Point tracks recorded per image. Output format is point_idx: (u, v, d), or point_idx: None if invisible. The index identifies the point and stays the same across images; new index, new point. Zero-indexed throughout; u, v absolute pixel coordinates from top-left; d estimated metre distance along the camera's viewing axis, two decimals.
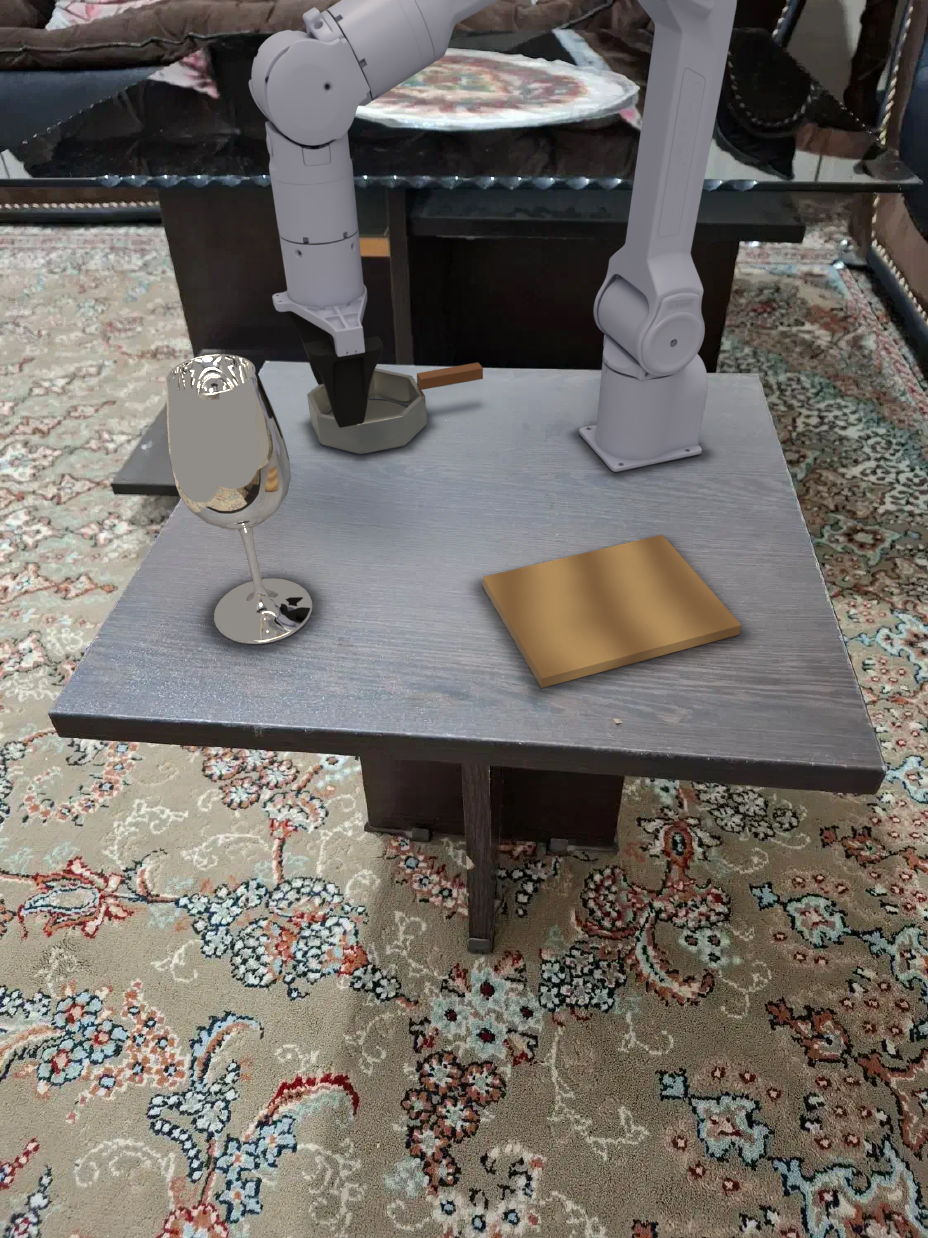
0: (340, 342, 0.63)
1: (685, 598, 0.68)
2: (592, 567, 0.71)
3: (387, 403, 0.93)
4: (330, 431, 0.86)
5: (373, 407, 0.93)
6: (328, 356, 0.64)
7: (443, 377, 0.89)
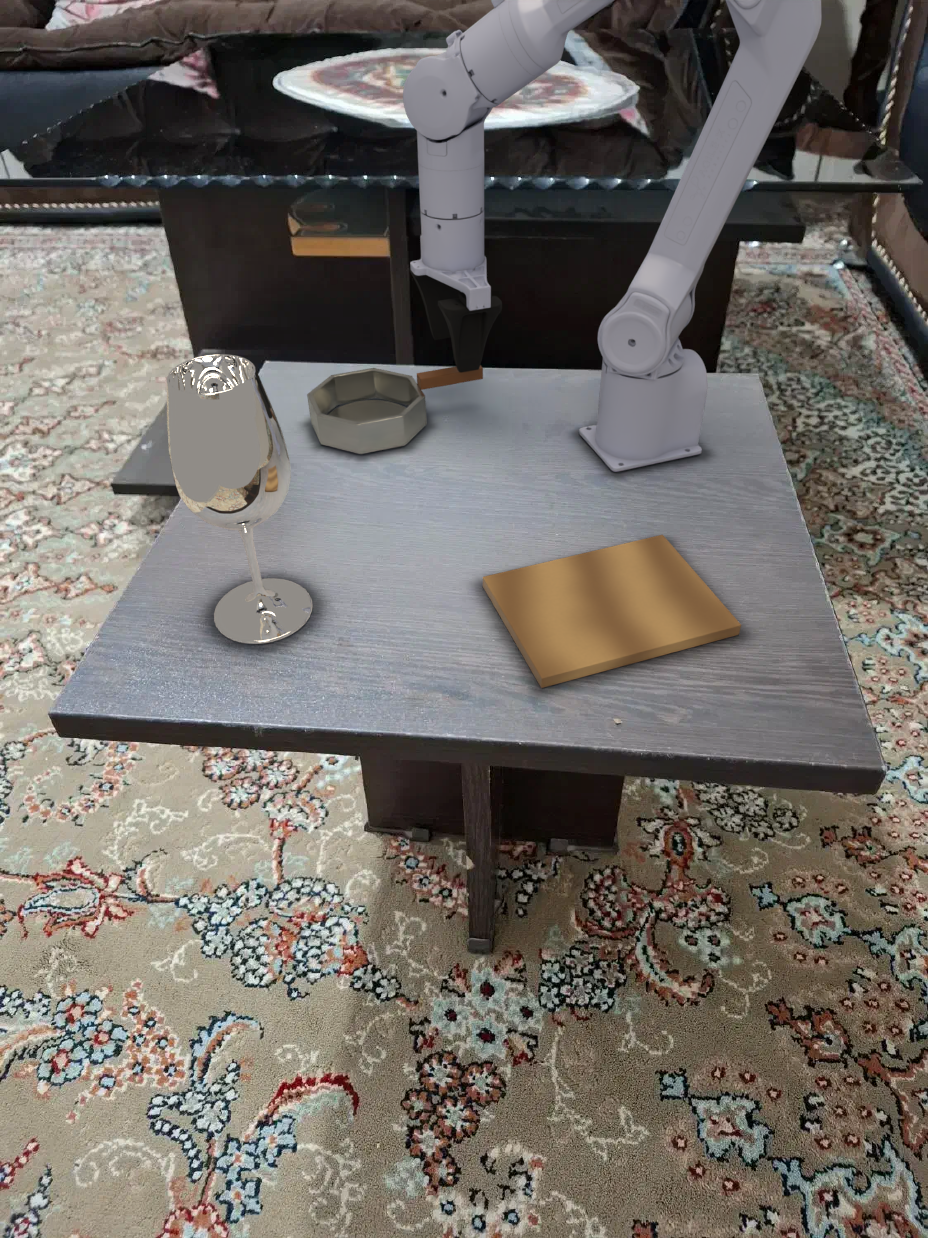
0: (472, 298, 0.78)
1: (685, 598, 0.68)
2: (592, 567, 0.71)
3: (387, 403, 0.93)
4: (330, 431, 0.86)
5: (373, 407, 0.93)
6: (460, 310, 0.80)
7: (443, 377, 0.89)
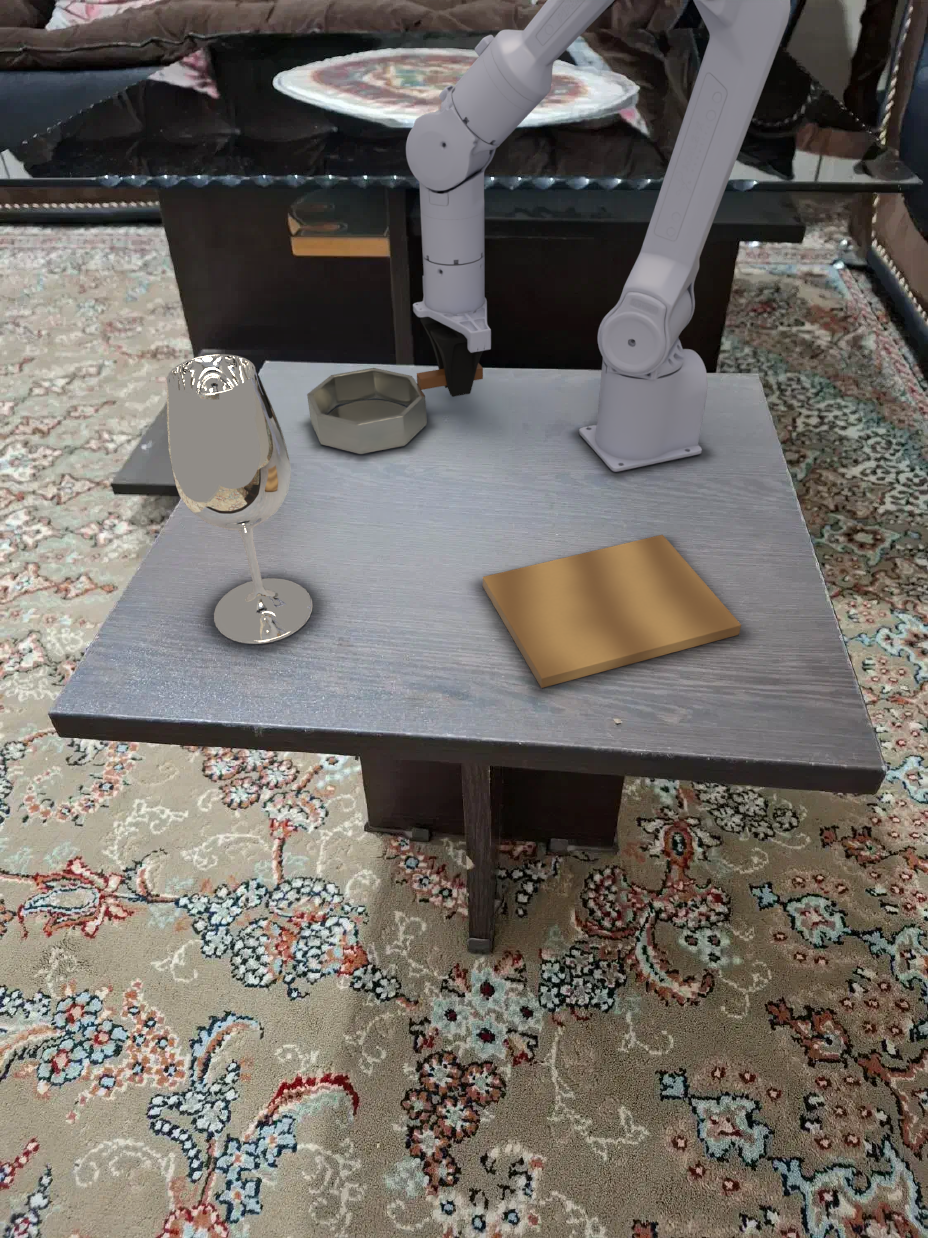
0: (473, 341, 0.81)
1: (685, 598, 0.68)
2: (592, 567, 0.71)
3: (387, 403, 0.93)
4: (330, 431, 0.86)
5: (373, 407, 0.93)
6: (451, 339, 0.84)
7: (443, 377, 0.89)
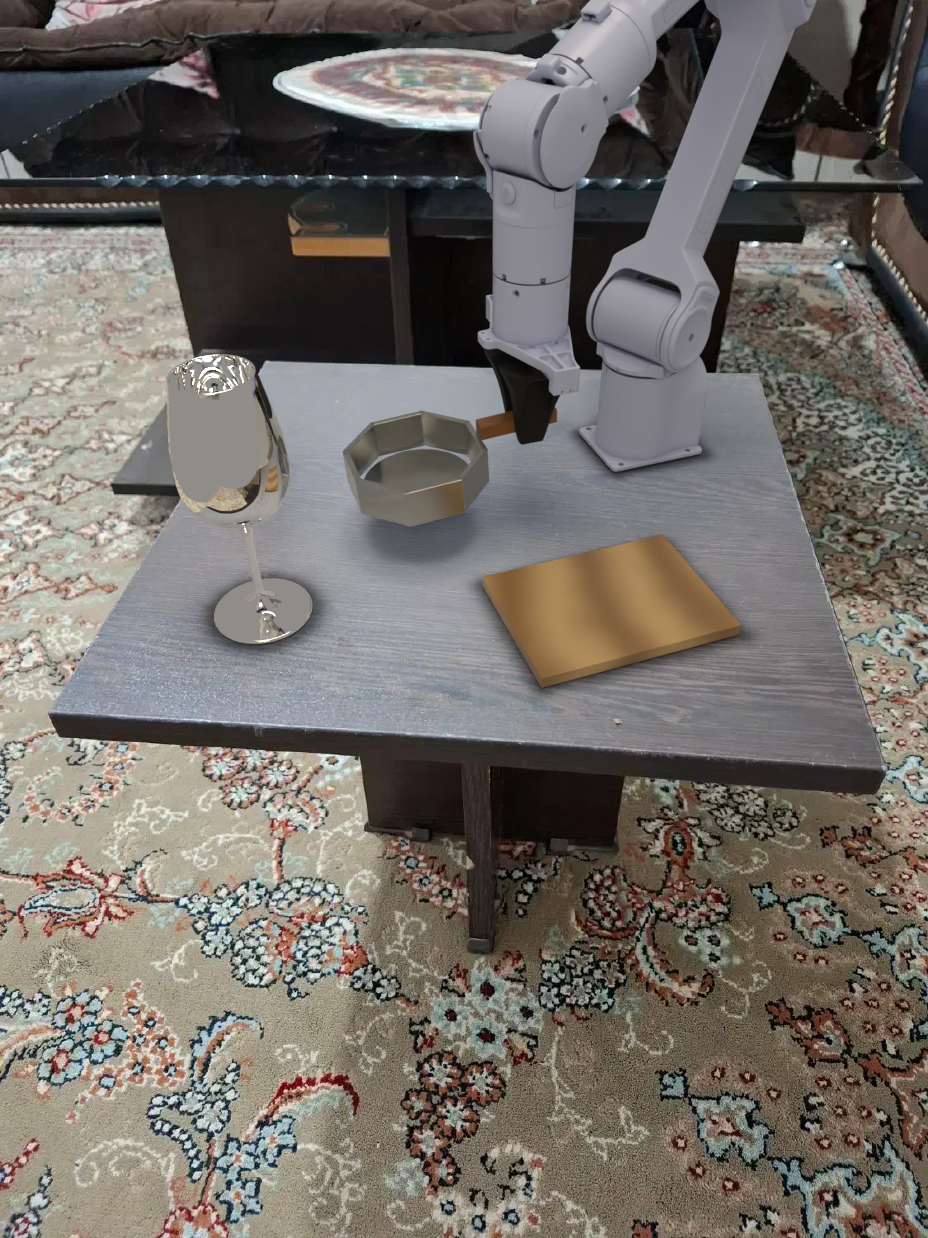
0: (557, 382, 0.64)
1: (685, 598, 0.68)
2: (592, 567, 0.71)
3: (439, 453, 0.77)
4: (373, 500, 0.70)
5: (423, 459, 0.76)
6: (526, 377, 0.67)
7: (508, 424, 0.72)
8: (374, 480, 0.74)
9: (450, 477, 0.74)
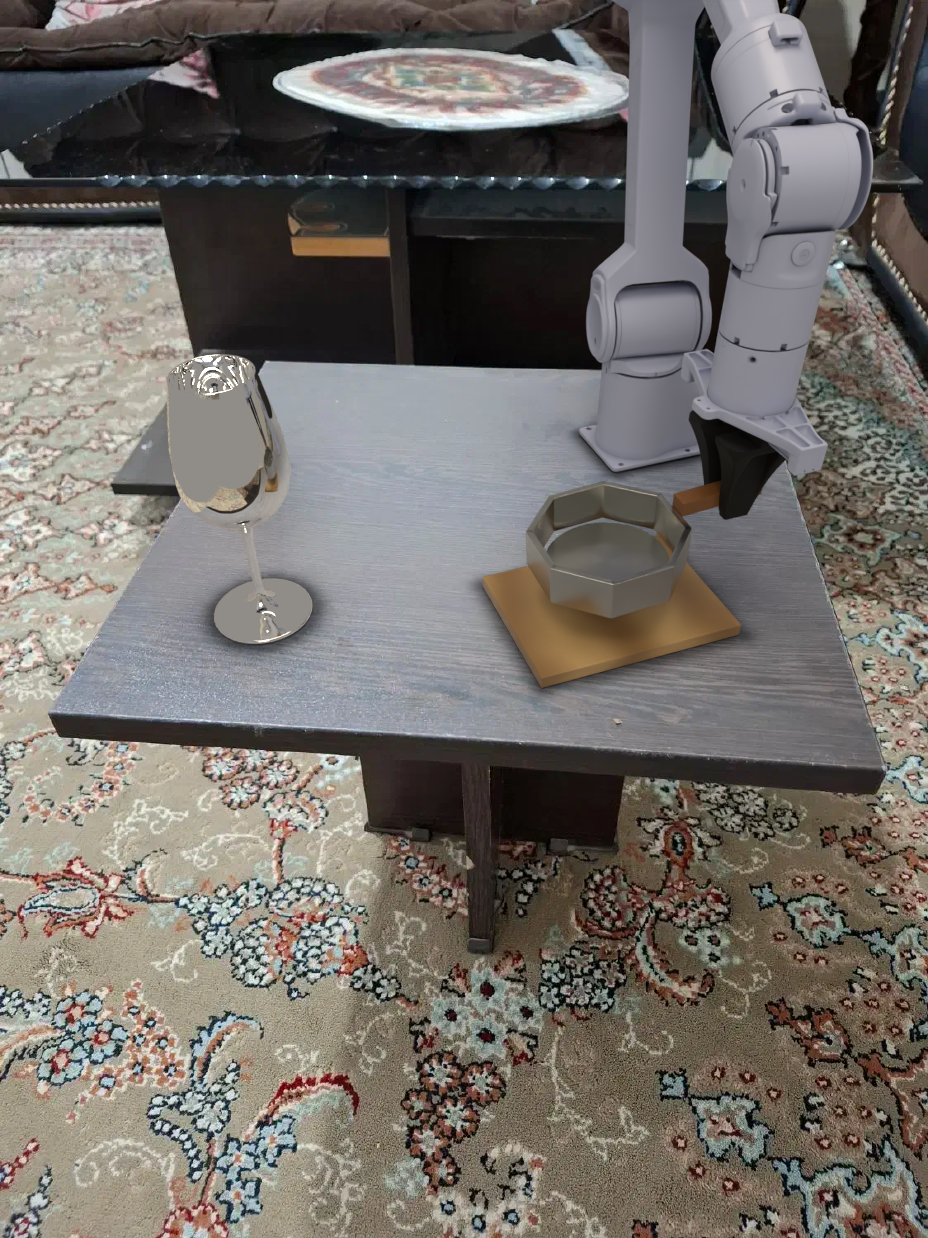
0: (802, 461, 0.56)
1: (685, 598, 0.68)
2: None
3: (622, 527, 0.69)
4: (569, 589, 0.62)
5: (606, 535, 0.68)
6: (752, 451, 0.59)
7: (711, 498, 0.65)
8: (556, 561, 0.66)
9: (642, 557, 0.66)
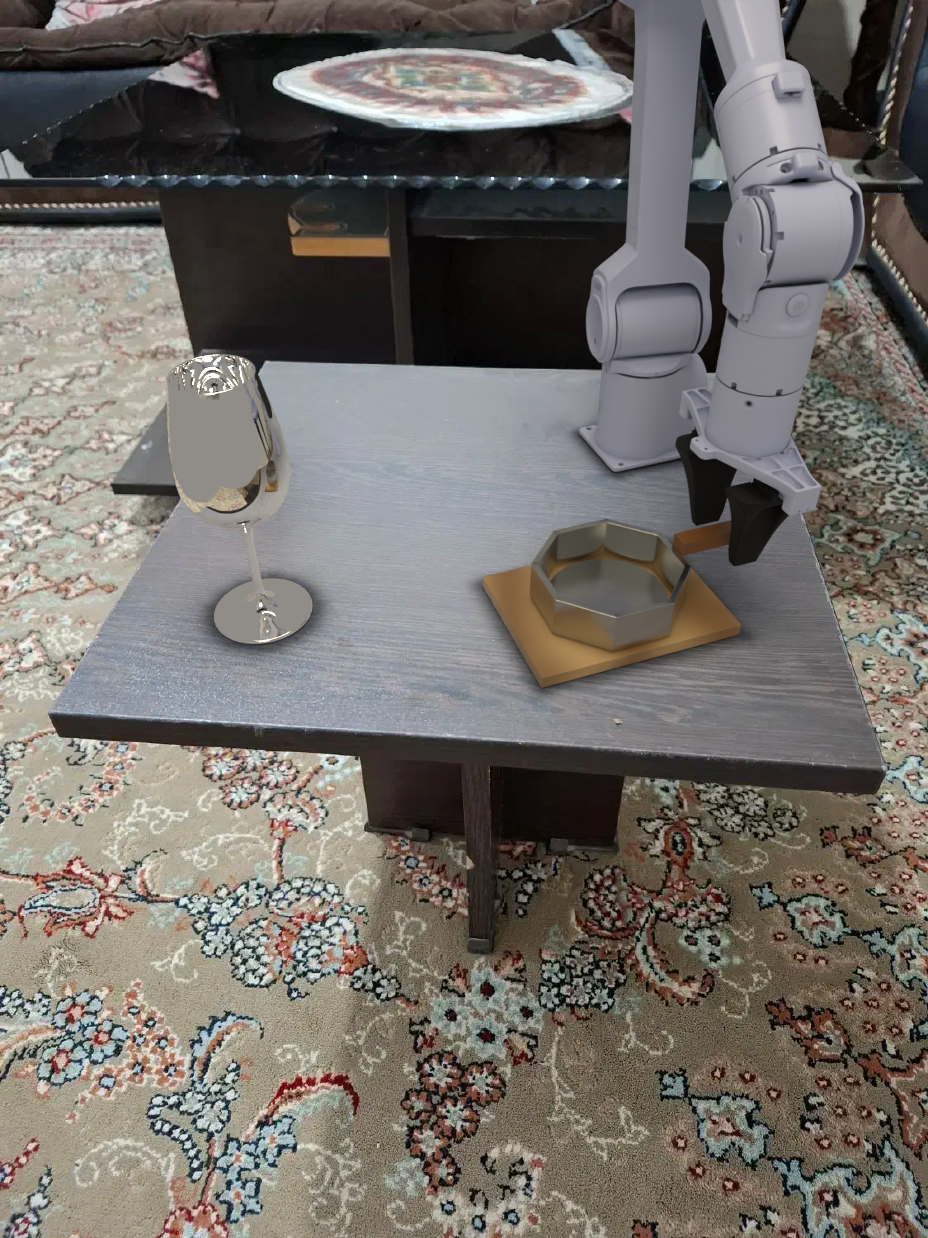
0: (796, 502, 0.58)
1: (685, 598, 0.68)
2: None
3: (622, 564, 0.71)
4: (572, 620, 0.64)
5: (606, 571, 0.70)
6: (762, 503, 0.60)
7: (710, 539, 0.67)
8: (559, 594, 0.68)
9: (642, 593, 0.68)
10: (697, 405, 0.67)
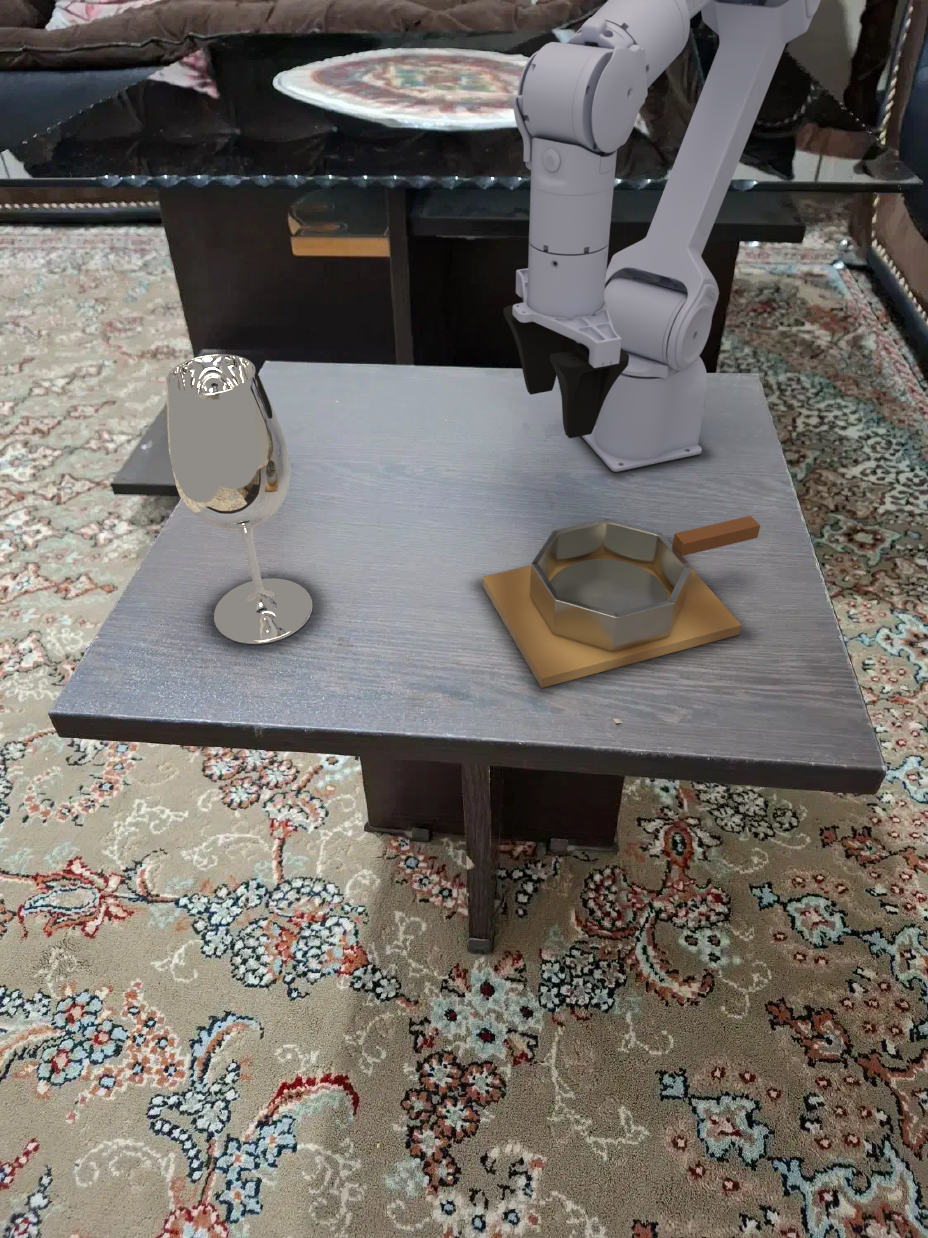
0: (598, 353, 0.62)
1: (685, 598, 0.68)
2: None
3: (622, 564, 0.71)
4: (572, 620, 0.64)
5: (606, 571, 0.70)
6: (580, 367, 0.64)
7: (710, 539, 0.67)
8: (559, 594, 0.68)
9: (642, 593, 0.68)
10: None
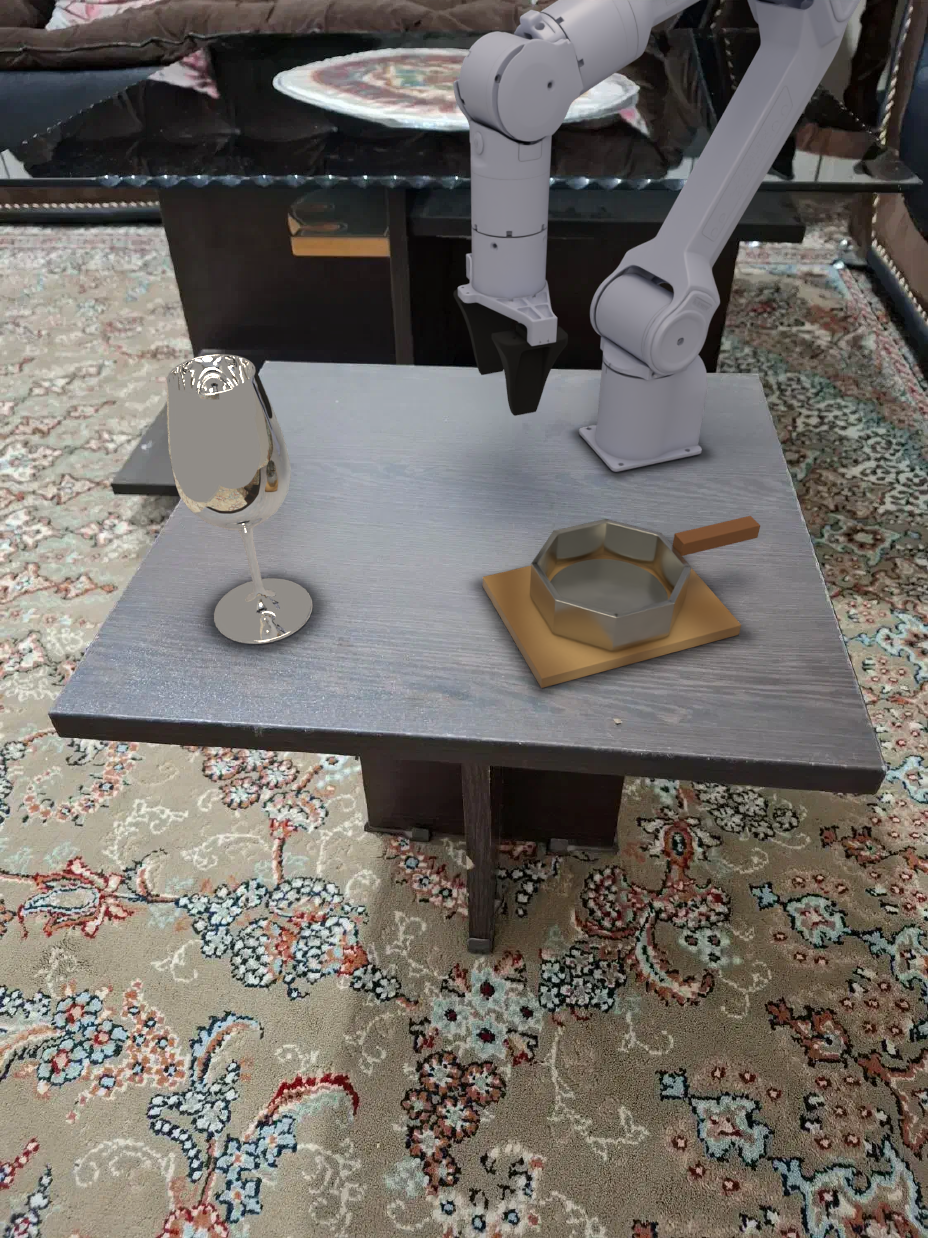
0: (535, 332, 0.65)
1: (685, 598, 0.68)
2: None
3: (622, 564, 0.71)
4: (572, 620, 0.64)
5: (606, 571, 0.70)
6: (519, 345, 0.67)
7: (710, 539, 0.67)
8: (559, 594, 0.68)
9: (642, 593, 0.68)
10: None
